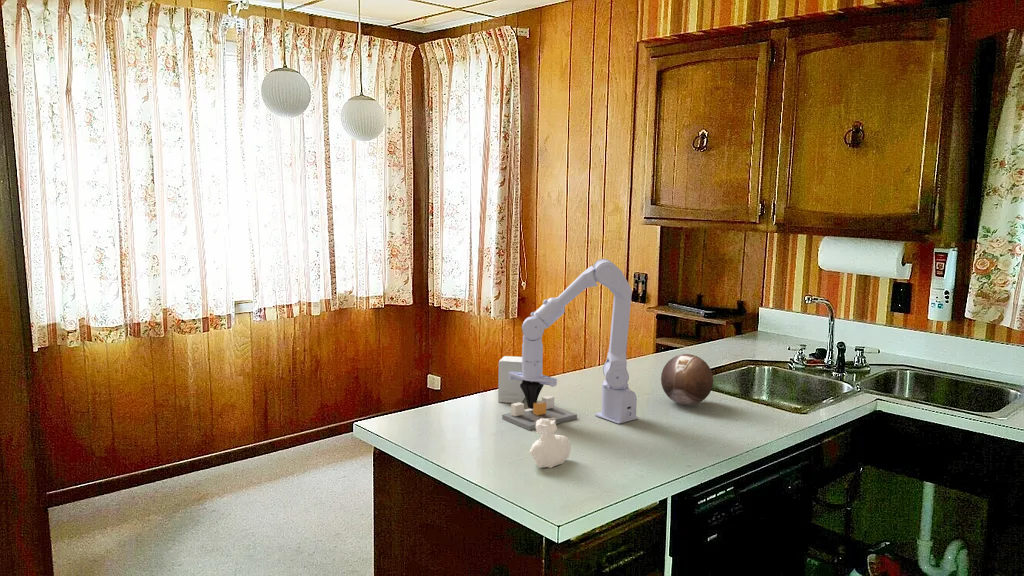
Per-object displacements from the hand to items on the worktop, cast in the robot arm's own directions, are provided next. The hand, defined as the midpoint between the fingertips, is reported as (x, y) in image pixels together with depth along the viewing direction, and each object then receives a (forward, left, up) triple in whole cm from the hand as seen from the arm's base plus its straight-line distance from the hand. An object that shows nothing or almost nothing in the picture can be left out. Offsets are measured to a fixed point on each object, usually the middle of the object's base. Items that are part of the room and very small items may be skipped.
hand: (531, 407), depth 204 cm
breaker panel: (-4, 0, -2) cm, 4 cm away
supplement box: (+15, -5, -2) cm, 16 cm away
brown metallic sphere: (-19, -44, -2) cm, 48 cm away
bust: (-30, +19, -2) cm, 35 cm away
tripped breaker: (-4, 0, -1) cm, 4 cm away
